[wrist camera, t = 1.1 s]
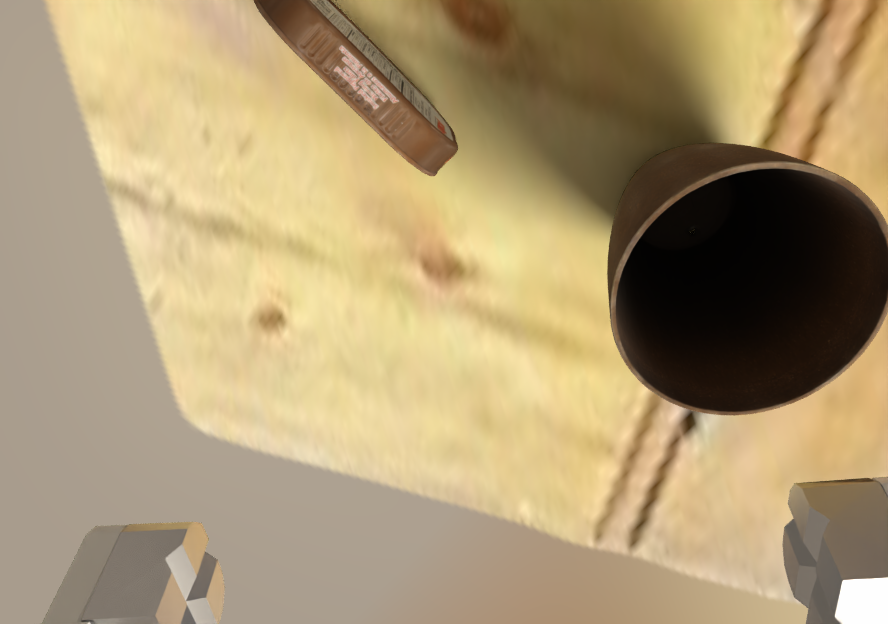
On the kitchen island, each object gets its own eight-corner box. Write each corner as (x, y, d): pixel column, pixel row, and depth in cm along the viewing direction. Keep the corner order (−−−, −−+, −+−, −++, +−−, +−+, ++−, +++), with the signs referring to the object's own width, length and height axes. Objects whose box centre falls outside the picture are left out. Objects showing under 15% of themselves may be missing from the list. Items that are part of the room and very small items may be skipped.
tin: (265, -10, 53) (233, 8, 45) (298, -48, 52) (271, -36, 44) (433, 157, 57) (429, 198, 50) (466, 126, 56) (467, 163, 49)
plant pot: (757, 53, 54) (866, 113, 40) (811, 248, 60) (921, 361, 46) (541, 145, 57) (570, 232, 43) (613, 322, 63) (659, 450, 49)
